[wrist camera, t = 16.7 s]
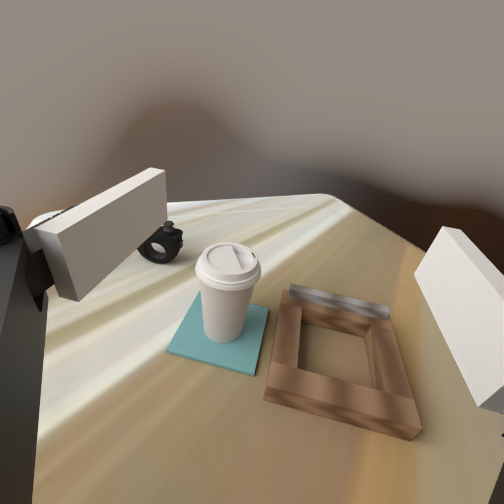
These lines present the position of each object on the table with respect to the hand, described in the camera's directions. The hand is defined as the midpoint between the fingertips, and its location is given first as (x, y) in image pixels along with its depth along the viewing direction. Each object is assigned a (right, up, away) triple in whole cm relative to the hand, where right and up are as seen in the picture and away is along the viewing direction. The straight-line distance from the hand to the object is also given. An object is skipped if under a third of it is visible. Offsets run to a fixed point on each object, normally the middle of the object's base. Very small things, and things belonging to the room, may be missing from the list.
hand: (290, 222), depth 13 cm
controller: (-23, -3, +48) cm, 53 cm away
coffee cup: (-7, -15, +34) cm, 37 cm away
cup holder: (+11, -19, +32) cm, 39 cm away
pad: (-7, -15, +34) cm, 38 cm away
